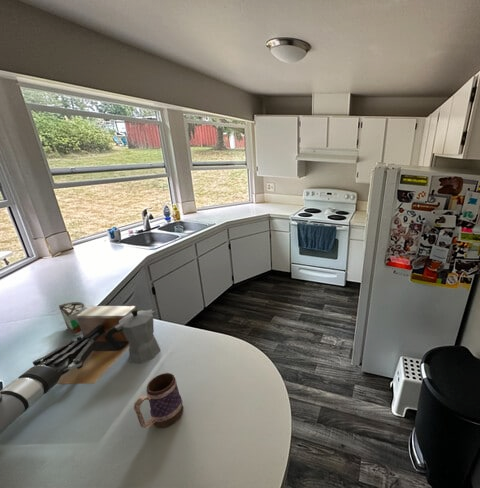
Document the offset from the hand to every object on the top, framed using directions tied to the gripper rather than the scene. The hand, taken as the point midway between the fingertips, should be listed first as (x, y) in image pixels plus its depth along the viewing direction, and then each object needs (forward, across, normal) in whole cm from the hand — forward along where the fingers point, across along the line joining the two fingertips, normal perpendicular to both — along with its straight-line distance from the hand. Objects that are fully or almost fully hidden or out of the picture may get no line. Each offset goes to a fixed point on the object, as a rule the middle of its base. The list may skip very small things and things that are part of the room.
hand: (101, 328), depth 87 cm
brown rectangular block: (+4, 0, -6) cm, 7 cm away
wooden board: (-5, 0, -7) cm, 9 cm away
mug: (-28, +35, -7) cm, 46 cm away
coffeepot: (-6, +16, -7) cm, 19 cm away
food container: (+9, -16, -7) cm, 20 cm away
